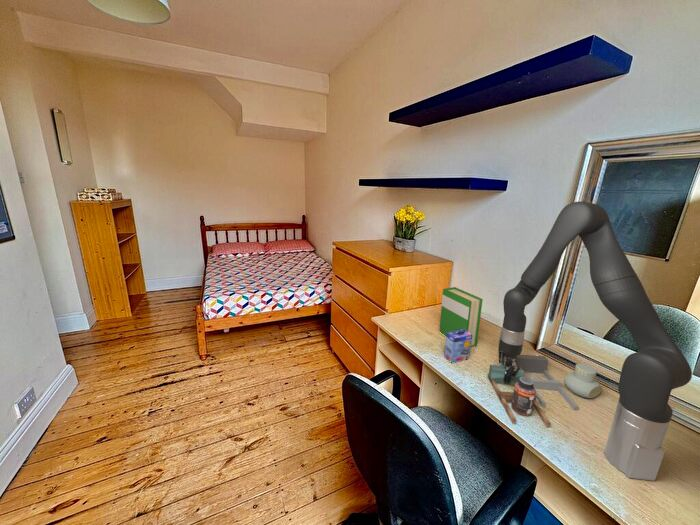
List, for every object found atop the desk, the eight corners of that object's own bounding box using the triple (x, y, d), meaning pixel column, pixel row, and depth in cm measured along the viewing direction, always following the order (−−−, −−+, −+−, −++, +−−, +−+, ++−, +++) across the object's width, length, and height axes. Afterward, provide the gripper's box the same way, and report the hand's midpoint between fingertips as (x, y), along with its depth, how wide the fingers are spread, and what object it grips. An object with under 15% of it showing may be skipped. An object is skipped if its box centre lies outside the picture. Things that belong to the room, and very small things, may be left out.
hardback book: (476, 346, 133) (482, 299, 127) (464, 349, 130) (469, 301, 124) (450, 330, 148) (454, 287, 143) (439, 332, 146) (443, 288, 140)
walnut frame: (550, 427, 87) (553, 411, 86) (512, 423, 88) (515, 407, 87) (517, 379, 109) (519, 366, 108) (487, 377, 111) (489, 363, 109)
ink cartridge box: (451, 364, 119) (455, 333, 116) (443, 357, 124) (446, 327, 121) (470, 359, 122) (473, 329, 119) (461, 352, 127) (464, 323, 124)
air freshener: (577, 381, 108) (583, 358, 106) (602, 395, 101) (609, 371, 99) (558, 388, 105) (563, 364, 102) (583, 403, 97) (589, 378, 95)
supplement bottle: (534, 418, 91) (540, 388, 88) (514, 415, 92) (519, 385, 89) (527, 405, 96) (533, 376, 94) (508, 402, 98) (513, 373, 95)
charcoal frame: (577, 409, 94) (580, 394, 93) (541, 406, 95) (544, 391, 94) (541, 368, 116) (543, 355, 115) (513, 366, 118) (515, 353, 116)
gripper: (531, 350, 96) (523, 393, 100) (514, 330, 110) (507, 369, 114) (508, 348, 97) (501, 391, 101) (493, 329, 111) (488, 367, 115)
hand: (504, 379), depth 108 cm, fingers closed on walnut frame, 3 cm apart
